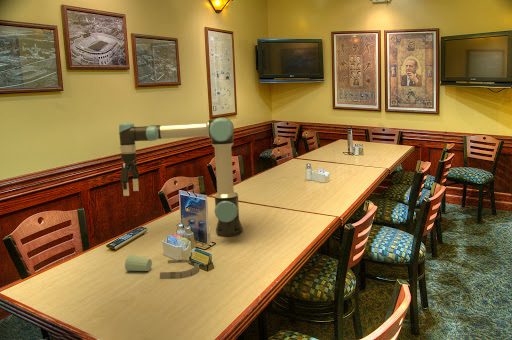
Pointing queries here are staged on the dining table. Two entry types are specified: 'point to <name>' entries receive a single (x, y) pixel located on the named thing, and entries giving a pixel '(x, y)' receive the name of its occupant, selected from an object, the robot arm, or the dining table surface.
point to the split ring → (183, 273)
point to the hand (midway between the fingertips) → (131, 193)
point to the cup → (137, 263)
